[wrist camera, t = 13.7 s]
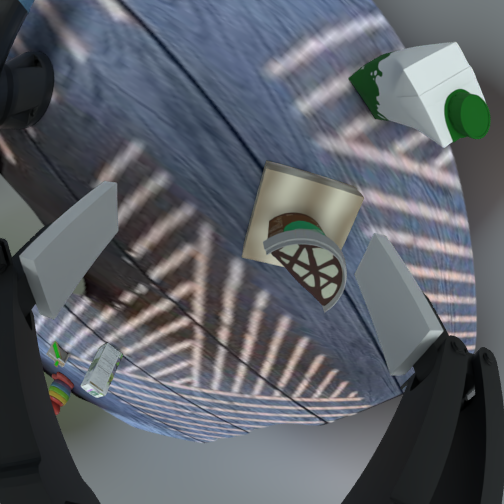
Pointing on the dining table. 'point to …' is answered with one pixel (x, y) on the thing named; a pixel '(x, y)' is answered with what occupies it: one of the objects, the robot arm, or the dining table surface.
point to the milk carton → (426, 92)
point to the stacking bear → (60, 391)
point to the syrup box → (102, 370)
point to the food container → (308, 256)
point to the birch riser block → (300, 206)
